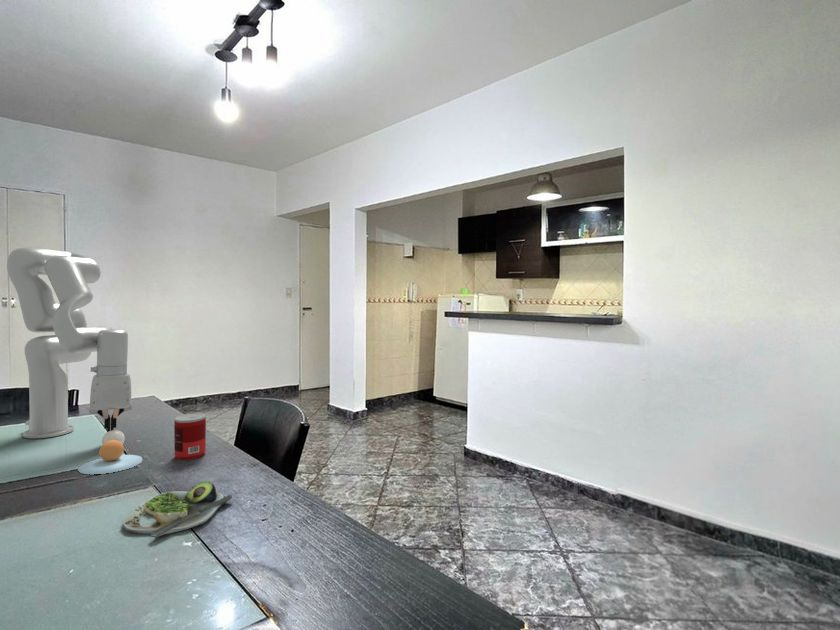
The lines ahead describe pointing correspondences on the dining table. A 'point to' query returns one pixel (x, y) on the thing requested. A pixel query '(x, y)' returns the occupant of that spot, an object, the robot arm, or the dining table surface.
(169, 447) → the dining table surface
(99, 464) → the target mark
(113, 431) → the white egg
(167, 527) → the avocado toast plate
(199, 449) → the canned food
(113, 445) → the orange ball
